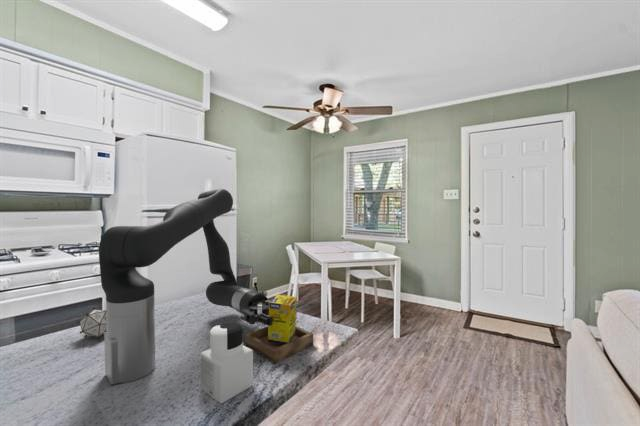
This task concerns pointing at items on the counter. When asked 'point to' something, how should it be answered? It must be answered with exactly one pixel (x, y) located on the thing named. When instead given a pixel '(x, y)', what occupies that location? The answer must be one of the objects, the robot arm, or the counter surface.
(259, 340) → the tray
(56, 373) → the counter surface
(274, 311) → the supplement box
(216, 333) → the container
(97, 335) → the game die
